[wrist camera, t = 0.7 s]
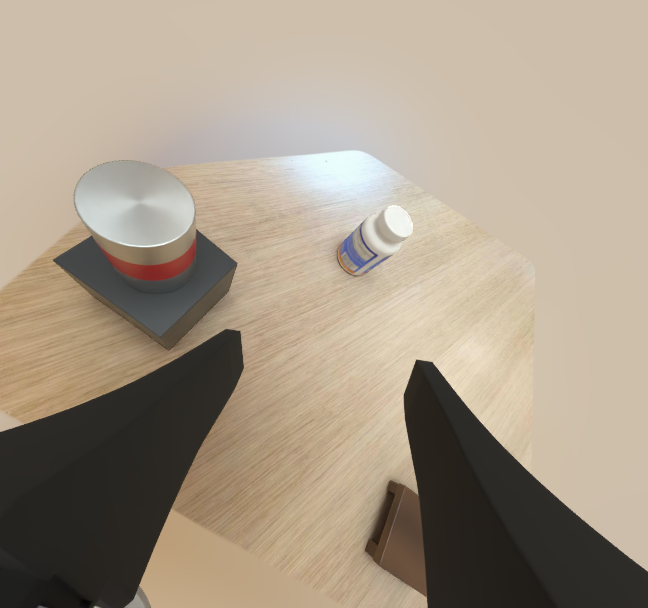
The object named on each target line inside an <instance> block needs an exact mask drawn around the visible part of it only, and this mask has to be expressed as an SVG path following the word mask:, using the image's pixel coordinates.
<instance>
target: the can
mask: <svg viewBox="0 0 648 608" xmlns="http://www.w3.org/2000/svg"><path fill="white" fill-rule="evenodd" d="M74 205H75V209H76V211H77V214H78V215H79V217H80V218H81V220H82V222H83V223H84V225H85V226H86V227H87V229H88V230H89V232H90V233H91V235H92V236H93V238H94V240H95V241H96V243H97V244H98V246H99V247H100V249H101V250H102V252H103V253H104V255H105V256H106V257H107V259H108V260H109V262H110V263H111V264H112V266H113V267H114V268H115V270H116V271H117V273H118V274H119V276H120V277H121V278H122V279H123V281H124V282H126V283H127V284H128V285H130V286H131V287H133V288H135V289H137V290H139V291H142V292H146V293H153V294H161V293H168V292H172V291H175V290H177V289H179V288H181V287H183V286H184V285H185V284H186V283H187V282H188V281H189V280H190V279H191V278H192V276H193V274H194V272H195V268H196V208H195V203H194V200H193V197H192V195H191V193H190V192H189V190H188V189H187V187H186V186H185V185H184V184H183V183H182V182H181V181H180V180H179V179H178V178H176V177H175V176H174V175H172V174H171V173H169V172H168V171H166V170H164V169H162V168H160V167H157V166H155V165H152V164H148V163H144V162H139V161H129V160H122V161H112V162H107V163H103V164H100V165H98V166H96V167H94V168H92V169H90V170H89V171H88V172H86V173H85V174H84V175H83V176H82V177H81V178H80V180H79V181H78V183H77V185H76V187H75V190H74Z"/></svg>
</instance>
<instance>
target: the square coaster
mask: <svg viewBox="0 0 648 608" xmlns="http://www.w3.org/2000/svg"><path fill="white" fill-rule="evenodd" d="M53 261H54V262H55V263H56V264H57V265H59V266H60V267H61V268H62V269H63V270H64V271H65V272H66V273H68V274H69V275H70V276H71V277H72V278H73V279H74V280H75V281H77V282H78V283H79V284H80V285H81V286H82V287H83V288H84V289H86V290H87V291H88V292H89V293H90V294H91V295H92V296H94V297H95V298H97V299H98V300H99V301H101V302H102V303H104V304H105V305H106V306H108V307H109V308H111V309H112V310H113V311H115V312H116V313H118V314H119V315H120V316H122V317H123V318H125V319H126V320H127V321H129V322H130V323H132V324H133V325H134V326H136V327H137V328H139V329H140V330H141V331H143V332H144V333H146V334H147V335H148V336H150V337H151V338H153V339H154V340H155V341H157V342H158V343H159V344H161V345H162V346H164V347H165V348H166V349H168V350H170V349H171V348H172V347H173V346H174V345H175V344H176V343H177V342H178V341H179V340H180V339H181V338H182V337H183V336H184V335H185V334H186V333H187V332H188V331H189V330H190V329H191V328H192V327H193V326H194V325H195V324H196V323H197V322H198V321H199V320H200V319H201V318H202V317H203V316H204V315H205V314H206V313H207V312H208V311H209V310H210V309H211V308H212V307H213V306H214V305H215V304H216V303H217V302H218V301H219V300H220V299H221V298H222V297H223V296H224V295H225V294H226V293H227V292H228V291H229V288H230V285H231V282H232V279H233V276H234V273H235V270H236V267H237V262H235V261H234V260H233V259H232V258H230V257H229V256H228V255H227V254H226V253H224V252H223V251H222V250H221V249H220V248H218V247H217V246H216V245H215V244H213V243H212V242H211V241H210V240H209V239H207V238H206V237H205V236H204V235H203V234H201V233H200V232H199V231H198V230H197V229H196V268H195V272H194V274H193V276H192V278H191V279H190V280H189V281H188V282H187V283H186V284H185V285H184V286H183V287H181V288H179V289H177V290H175V291H172V292H168V293H161V294H153V293H146V292H142V291H139V290H137V289H135V288H133V287H131V286H130V285H128V284H127V283H126V282H124V281H123V279H122V278H121V277H120V276H119V274H118V273H117V271H116V270H115V268H114V267H113V266H112V264H111V263H110V262H109V260H108V259H107V257H106V256H105V255H104V253H103V252H102V250H101V249H100V247H99V246H98V244H97V243H96V241H95V240H94V238H93V236H91V237H89V238H87V239H86V240H84V241H82V242H81V243H79V244H78V245H76V246H74V247H73V248H71V249H70V250H68V251H66V252H65V253H63V254H61V255H60V256H58V257H57V258H55V259H53Z"/></svg>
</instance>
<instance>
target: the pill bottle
mask: <svg viewBox="0 0 648 608" xmlns="http://www.w3.org/2000/svg"><path fill="white" fill-rule="evenodd" d="M412 231H413V224H412V220H411V218H410V216H409V215H408V213H407V212H406V211H405V210H404V209H402V208H401V207H399V206H396V205H391V206H388V207H387V208H386V209H384V210H383V211H382V212H381V213H375V214H372V215H370V216H369V217H368V218H367V219H365V220H364V221H363V222H362V223H361V224H360V226H359V227H358V228H357V229H356V230H355V231H354V232H353V233H352V234H351V235H350V236H348V237H347V239H345V240H344V241H343V242H342V244H341V245H340V246H339V249H338V260H339V263H340V265H341V266H342V267H343V268H344V269H345V270H346V271H347V272H349V273H350V274H353V275H363V274H365V273H367V272H368V271H370V270H371V269H373V268H374V267H376V266H377V265H379V264H380V263H382V262H383V261H384V260H386V259H387V258H389V257H390V256H392V255H393V254H395V253H396V252H397V251H398V250H399V249H400V247H401V244H402V241H404V240H405V239H406V238H407V237H409V236H410V235H411V233H412Z"/></svg>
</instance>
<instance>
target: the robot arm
mask: <svg viewBox="0 0 648 608" xmlns="http://www.w3.org/2000/svg"><path fill="white" fill-rule="evenodd" d="M243 368H244V365H243V354H242V344H241V333H240V331H235V330H229V329H226V330H224V331H222V332H220V333H219V334H217V335H215V336H214V337H212V338H210V339H209V340H207V341H206V342H204V343H202V344H201V345H199V346H197V347H196V348H194V349H192V350H191V351H189V352H187V353H186V354H184V355H182V356H181V357H179V358H177V359H175V360H174V361H172V362H170V363H168V364H166V365H165V366H163V367H161V368H159V369H157V370H156V371H154V372H152V373H150V374H148V375H146V376H144V377H142V378H140V379H138V380H136V381H134V382H132V383H130V384H127V385H125V386H123V387H121V388H119V389H117V390H114V391H112V392H110V393H107V394H105V395H102V396H100V397H97V398H95V399H92V400H90V401H88V402H85V403H83V404H80V405H78V406H75V407H73V408H70V409H67V410H65V411H62V412H59V413H56V414H54V415H51V416H48V417H45V418H42V419H39V420H36V421H33V422H30V423H27V424H24V425H21V426H18V427H15V428H12V429H9V430H6V431H3V432H0V608H94V606H96V607H100V608H124V607H125V606H126V605H128V604H129V603H130V602H131V601H132V600H133V599H134V597H135V595H136V592H137V589H138V587H139V584H140V582H141V579H142V576H143V574H144V572H145V569H146V567H147V564H148V562H149V559H150V557H151V554H152V552H153V549H154V547H155V544H156V542H157V540H158V538H159V535H160V533H161V530H162V528H163V526H164V523H165V521H166V519H167V517H168V514H169V512H170V510H171V507H172V505H173V503H174V501H175V499H176V497H177V494H178V492H179V490H180V488H181V486H182V483H183V481H184V479H185V477H186V475H187V473H188V471H189V469H190V467H191V465H192V463H193V460H194V458H195V456H196V454H197V452H198V450H199V449H200V447H201V445H202V443H203V441H204V439H205V438H206V436H207V434H208V433H209V431H210V429H211V428H212V426H213V425H214V423H215V421H216V420H217V418H218V416H219V415H220V413H221V411H222V410H223V408H224V406H225V405H226V403H227V401H228V399H229V398H230V396H231V394H232V393H233V391H234V389H235V387H236V385H237V382H238V380H239V378H240V376H241V373H242V371H243ZM404 411H405V422H406V428H407V433H408V439H409V444H410V449H411V454H412V460H413V465H414V470H415V475H416V481H417V487H418V494H419V502H420V513H421V523H422V534H423V546H424V558H425V572H426V588H427V603H428V608H648V572H647V571H646V570H645V569H644V568H642V567H641V566H640V565H638V564H637V563H636V562H634V561H633V560H632V559H630V558H629V557H628V556H627V555H625V554H624V553H623V552H621V551H620V550H619V549H618V548H617V547H615V546H614V545H613V544H612V543H610V542H609V541H608V540H607V539H605V538H604V537H603V536H602V535H600V534H599V533H598V532H597V531H595V530H594V529H593V528H592V527H591V526H589V525H588V524H587V523H586V522H585V521H583V520H582V519H581V518H580V517H579V516H578V515H576V514H575V513H574V512H573V511H571V510H570V509H569V508H568V507H567V506H566V505H565V504H564V503H562V502H561V501H560V500H559V499H558V498H557V497H555V495H553V494H552V493H551V492H550V491H549V490H548V489H546V487H545V486H543V485H542V484H541V483H540V482H539V481H538V480H537V479H536V478H535V477H533V476H532V475H531V474H530V473H529V472H528V471H527V470H526V469H525V468H524V467H523V466H522V465H521V464H520V463H519V462H518V461H517V460H516V459H515V458H514V457H513V456H512V455H511V454H510V453H509V452H508V451H507V450H506V449H505V448H504V447H503V446H502V445H501V444H500V443H499V442H498V441H497V440H496V439H495V438H494V437H493V435H492V434H491V433H490V432H489V431H488V430H487V429H486V428H485V427H484V425H483V424H482V423H481V422H480V421H479V420H478V419H477V418H476V416H475V415H474V414H473V413H472V412H471V411H470V409H469V408H468V407H467V406H466V404H465V403H464V402H463V401H462V400H461V398H460V397H459V396H458V395H457V393H456V392H455V391H454V390H453V388H452V387H451V386H450V384H449V383H448V382H447V381H446V379H445V378H444V377H443V375H442V374H441V373H440V371H439V370H438V369H437V368H436V366H435V365H434V364H433V362H428V361H422V360H416V362H415V365H414V368H413V370H412V373H411V376H410V379H409V382H408V385H407V387H406V390H405V393H404Z"/></svg>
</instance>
